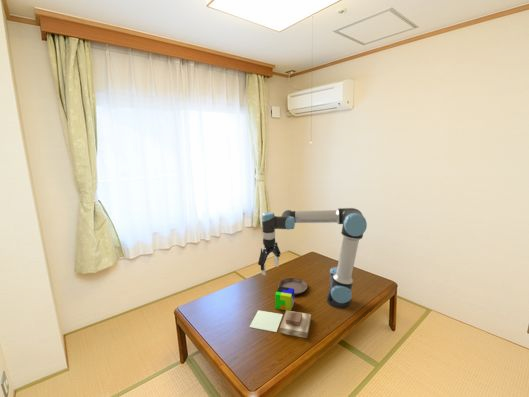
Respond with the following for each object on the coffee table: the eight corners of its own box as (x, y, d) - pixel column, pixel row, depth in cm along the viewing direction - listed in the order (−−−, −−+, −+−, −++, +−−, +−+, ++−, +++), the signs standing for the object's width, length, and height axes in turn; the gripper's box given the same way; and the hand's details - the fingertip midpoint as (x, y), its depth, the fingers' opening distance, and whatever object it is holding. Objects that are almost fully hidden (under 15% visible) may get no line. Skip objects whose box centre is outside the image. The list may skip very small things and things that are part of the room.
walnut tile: (302, 317, 155) (302, 313, 154) (299, 326, 147) (299, 322, 147) (288, 315, 157) (288, 311, 156) (285, 323, 149) (285, 319, 149)
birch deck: (310, 319, 158) (310, 314, 157) (307, 338, 143) (307, 332, 142) (286, 315, 162) (286, 310, 161) (279, 333, 147) (279, 327, 146)
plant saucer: (303, 299, 178) (303, 295, 178) (274, 294, 186) (274, 289, 185) (310, 284, 197) (310, 280, 197) (283, 280, 205) (283, 276, 204)
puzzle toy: (294, 302, 175) (294, 288, 173) (290, 311, 166) (290, 296, 164) (279, 299, 179) (279, 286, 177) (275, 308, 169) (275, 294, 167)
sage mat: (283, 314, 163) (282, 314, 163) (276, 332, 148) (276, 331, 148) (258, 310, 167) (258, 310, 167) (249, 327, 152) (249, 326, 152)
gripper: (275, 231, 173) (276, 261, 177) (250, 243, 154) (252, 276, 158) (285, 233, 169) (286, 264, 173) (261, 245, 150) (262, 280, 154)
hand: (270, 270), depth 166 cm, fingers open, 13 cm apart
